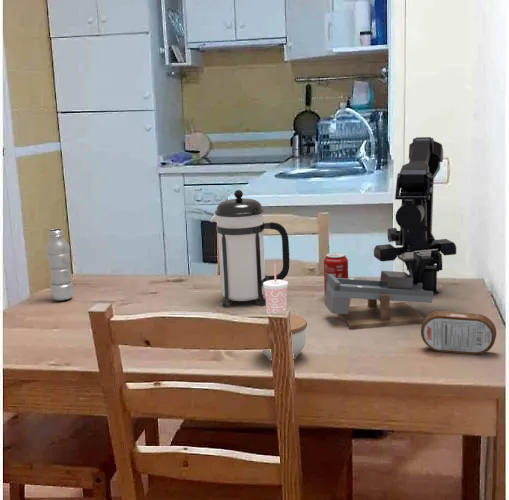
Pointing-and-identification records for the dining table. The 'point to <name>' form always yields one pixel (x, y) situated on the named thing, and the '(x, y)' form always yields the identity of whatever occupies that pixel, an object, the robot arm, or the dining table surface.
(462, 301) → the dining table surface
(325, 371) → the dining table surface
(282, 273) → the coffee press
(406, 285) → the block
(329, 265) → the beverage can
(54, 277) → the plastic bottle
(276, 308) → the beverage cup
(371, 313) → the stand
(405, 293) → the beam
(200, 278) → the dining table surface
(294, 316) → the lidded jar
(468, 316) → the tin
